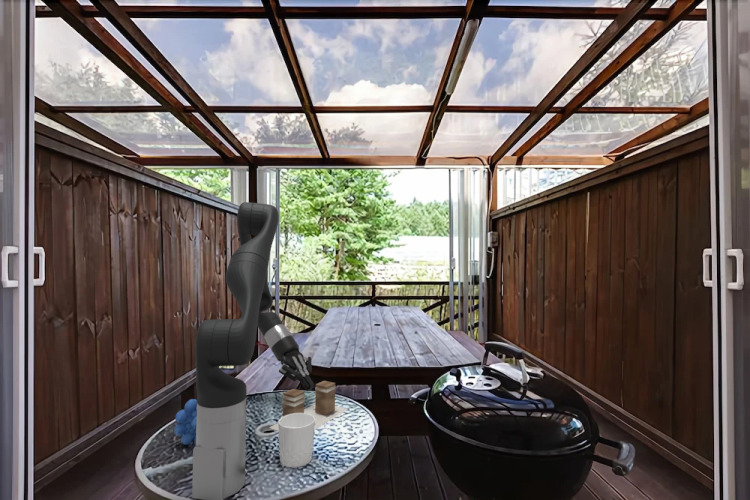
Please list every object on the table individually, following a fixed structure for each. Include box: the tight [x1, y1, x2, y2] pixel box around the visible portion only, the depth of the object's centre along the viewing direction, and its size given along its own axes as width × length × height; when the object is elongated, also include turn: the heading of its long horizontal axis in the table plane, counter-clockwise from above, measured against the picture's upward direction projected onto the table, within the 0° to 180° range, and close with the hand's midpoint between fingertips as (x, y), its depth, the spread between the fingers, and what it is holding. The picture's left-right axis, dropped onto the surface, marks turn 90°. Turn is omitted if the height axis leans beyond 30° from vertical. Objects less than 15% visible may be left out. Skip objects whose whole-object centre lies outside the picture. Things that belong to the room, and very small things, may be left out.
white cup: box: [278, 413, 315, 468], centre depth 82 cm, size 8×8×10 cm
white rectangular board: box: [269, 403, 349, 432], centre depth 104 cm, size 11×21×2 cm, turn 150°
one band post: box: [314, 380, 337, 416], centre depth 108 cm, size 4×4×8 cm
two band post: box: [281, 388, 306, 417], centre depth 100 cm, size 4×4×8 cm
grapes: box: [173, 398, 197, 446], centre depth 92 cm, size 12×7×12 cm, turn 95°
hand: (311, 388), depth 110 cm, fingers closed
